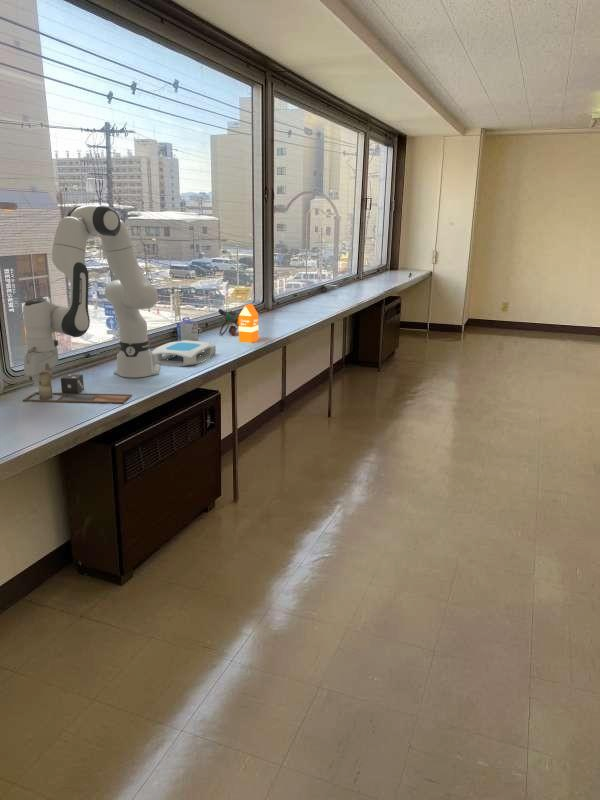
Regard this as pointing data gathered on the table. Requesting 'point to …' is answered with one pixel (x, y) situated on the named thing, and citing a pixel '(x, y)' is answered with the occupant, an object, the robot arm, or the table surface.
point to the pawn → (45, 384)
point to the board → (86, 398)
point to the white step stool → (184, 352)
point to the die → (72, 383)
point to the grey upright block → (187, 330)
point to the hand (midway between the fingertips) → (43, 382)
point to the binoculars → (231, 319)
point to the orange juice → (248, 324)
